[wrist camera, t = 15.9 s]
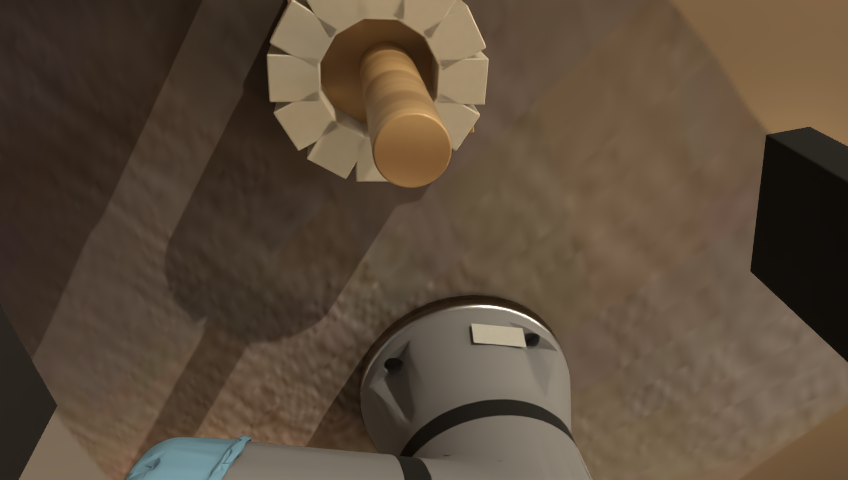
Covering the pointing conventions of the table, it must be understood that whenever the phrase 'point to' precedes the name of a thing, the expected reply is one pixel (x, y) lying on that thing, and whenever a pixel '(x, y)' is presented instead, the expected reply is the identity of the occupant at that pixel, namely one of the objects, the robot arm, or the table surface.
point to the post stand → (389, 98)
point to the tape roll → (336, 130)
